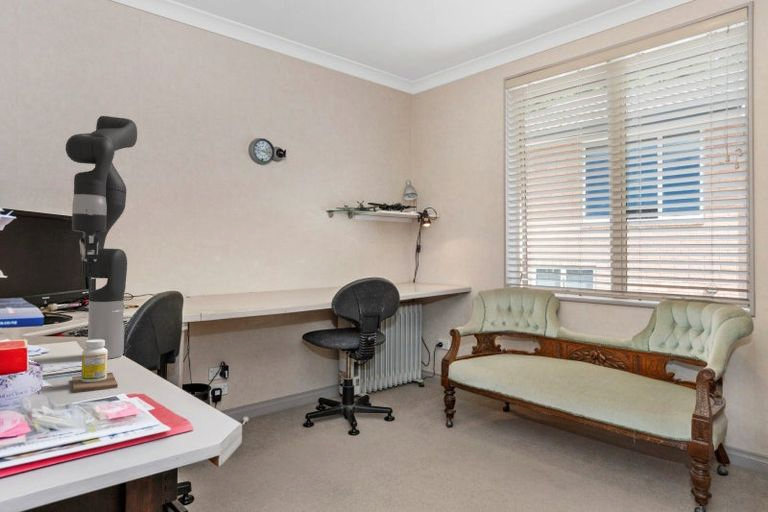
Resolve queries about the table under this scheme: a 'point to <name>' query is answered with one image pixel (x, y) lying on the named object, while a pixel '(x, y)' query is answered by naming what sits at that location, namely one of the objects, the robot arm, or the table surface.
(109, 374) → the walnut mat
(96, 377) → the supplement bottle
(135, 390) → the table surface
